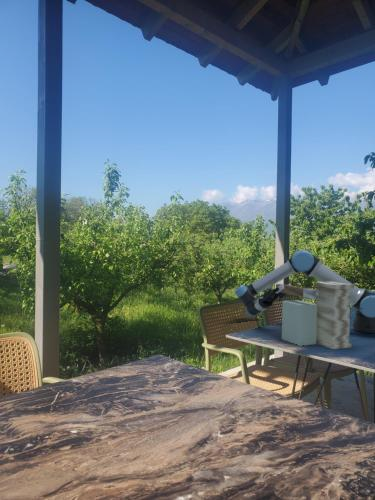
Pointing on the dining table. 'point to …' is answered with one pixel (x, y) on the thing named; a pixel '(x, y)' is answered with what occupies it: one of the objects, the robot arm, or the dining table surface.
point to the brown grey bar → (299, 291)
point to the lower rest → (299, 322)
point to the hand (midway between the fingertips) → (286, 286)
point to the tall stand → (333, 314)
